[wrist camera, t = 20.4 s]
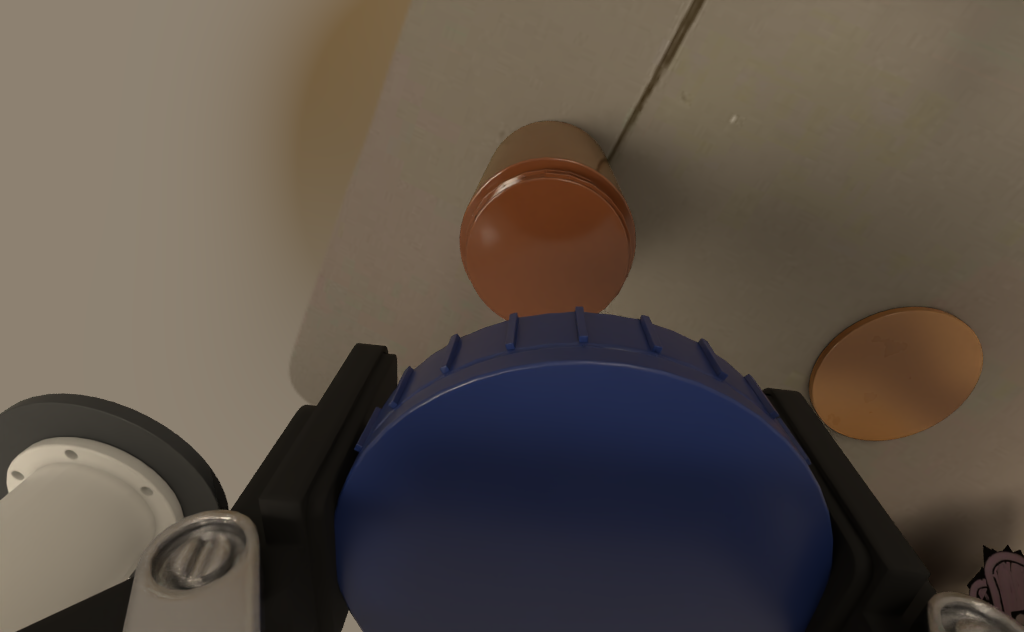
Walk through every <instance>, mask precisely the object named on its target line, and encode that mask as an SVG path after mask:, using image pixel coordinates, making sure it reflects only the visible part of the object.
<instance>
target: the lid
mask: <svg viewBox="0 0 1024 632" xmlns="http://www.w3.org/2000/svg"><path fill="white" fill-rule="evenodd" d="M777 417H779V414H778V412H777V411H776V410H775V408H774V407H773V405H772V404H771V403H770V401H769V400H768V398H767V397H766V395H765V394H764V393H763V391H762V390H761V388H760V387H759V386H758V384H757V383H756V381H755V380H754V378H753V377H752V376H751V375H750V374H748V375H746V376H745V377H743V376H742V375H741V374H740V373H739V372H738V371H737V370H735V369H734V368H733V367H732V366H731V365H730V364H729V363H728V362H727V361H725V360H724V359H722V358H721V357H719V356H718V355H716V354H715V353H714V351H713V349H712V348H711V346H710V345H709V343H708V342H707V341H706V340H704V339H702V338H701V339H700V341H699V342H696V341H693V340H691V339H689V338H687V337H685V336H683V335H681V334H679V333H677V332H674V331H672V330H669V329H666V328H663V327H660V326H657V325H654V324H652V322H651V320H650V318H649V316H645V315H641V318H640V319H633V318H626V317H621V316H616V315H610V314H597V313H589V312H584V309H583V307H575V311H574V312H565V313H547V314H541V315H535V316H526V317H518V314H517V313H513V314H510V316H509V320H507V321H505V322H502V323H499V324H495V325H492V326H489V327H485V328H483V329H480V330H478V331H476V332H474V333H471V334H469V335H466V336H463V337H461V338H460V337H459V335H458V334H455V335H453V336H451V339H450V341H449V344H448V345H447V346H446V347H444V348H443V349H441V350H439V351H438V352H436V353H434V354H433V355H431V356H430V357H429V358H428V359H426V360H425V361H424V362H423V363H421V364H420V365H419V366H418V367H416V368H415V369H414V370H413V369H412V368H411V367H410V366H409V367H408V368H407V369H406V370H405V371H404V373H403V375H402V377H401V379H400V382H399V384H398V386H397V388H396V389H395V390H394V391H393V392H392V394H391V395H390V397H389V398H388V400H387V401H386V403H385V404H384V406H383V407H382V409H381V408H379V407H376V408H375V410H374V412H373V414H372V416H371V418H370V420H369V421H368V423H367V425H366V427H365V429H364V431H363V433H362V435H361V437H360V439H359V441H358V443H357V444H356V446H355V448H354V450H356V451H358V452H359V454H358V456H357V458H356V460H355V462H354V464H353V466H352V468H351V470H350V472H349V474H348V476H347V478H346V480H345V483H344V485H343V487H342V489H341V491H340V494H339V497H338V501H337V505H336V509H335V514H334V528H335V549H336V568H337V581H338V585H339V588H340V591H341V593H342V596H343V598H344V600H345V602H346V604H347V607H348V609H349V611H350V613H351V614H352V616H353V617H354V619H355V620H356V621H357V623H358V625H359V626H360V628H361V630H362V631H363V632H805V630H806V628H807V626H808V624H809V622H810V620H811V619H812V616H813V614H814V612H815V610H816V608H817V606H818V604H819V602H820V599H821V597H822V595H823V593H824V591H825V588H826V586H827V583H828V581H829V577H830V573H831V568H832V557H833V535H832V528H831V521H830V515H829V510H828V508H827V505H826V502H825V499H824V496H823V493H822V491H821V488H820V485H819V484H818V482H817V480H816V478H815V477H814V475H813V473H812V471H811V470H810V468H809V466H808V465H810V464H811V462H810V459H809V458H808V456H807V455H806V453H805V452H804V450H803V449H802V448H801V446H800V445H799V443H798V442H797V440H796V439H795V438H794V436H793V435H792V433H791V432H790V431H789V429H788V428H787V426H786V425H785V423H784V422H783V421H782V419H781V418H777ZM776 418H777V419H776Z"/></svg>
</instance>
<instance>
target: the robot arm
mask: <svg viewBox="0 0 1024 632" xmlns="http://www.w3.org/2000/svg"><path fill="white" fill-rule="evenodd" d="M396 388H397V357H396V355H395V354H388V350H387V347H386V346H380V345H371V344H361V343H357V344H356V345H355V346H354V348H353V349H352V351H351V352H350V354H349V356H348V357H347V359H346V360H345V362H344V363H343V365H342V367H341V368H340V370H339V371H338V373H337V375H336V376H335V378H334V379H333V381H332V383H331V384H330V386H329V387H328V389H327V390H326V392H325V394H324V395H323V397H322V398H321V400H320V402H319V403H318V405H317V406H313V405H304V406H302V407H301V408H300V409H299V410H298V411H297V413H296V414H295V415H294V417H293V418H292V420H291V421H290V423H289V424H288V426H287V427H286V429H285V430H284V432H283V433H282V435H281V436H280V438H279V439H278V441H277V442H276V444H275V445H274V447H273V448H272V450H271V451H270V452H269V454H268V455H267V457H266V458H265V460H264V461H263V463H262V465H261V466H260V467H259V469H258V470H257V472H256V473H255V475H254V476H253V478H252V479H251V481H250V482H249V484H248V485H247V487H246V488H245V490H244V491H243V493H242V494H241V495H240V497H239V499H238V500H237V502H236V503H235V505H234V506H233V507H232V509H231V510H222V509H221V510H212V511H204V512H201V513H197V514H194V515H191V516H188V517H185V518H184V516H183V512H182V508H181V505H180V503H179V501H178V499H177V497H176V495H175V493H174V492H173V491H172V489H171V488H170V487H169V485H168V484H167V483H166V481H165V480H164V479H162V478H161V477H160V476H159V475H158V474H157V473H156V472H155V471H154V470H153V469H152V468H150V467H149V466H147V465H146V464H145V463H143V462H142V461H141V460H139V459H137V458H136V457H134V456H132V455H130V454H129V453H127V452H125V451H123V450H120V449H118V448H116V447H113V446H111V445H108V444H105V443H102V442H98V441H95V440H91V439H84V438H78V437H55V438H49V439H44V440H41V441H39V442H36V443H34V444H32V445H31V446H30V447H28V448H27V449H25V450H24V451H23V452H21V453H20V454H19V455H18V456H17V457H16V458H15V459H14V460H13V461H12V462H11V464H10V466H9V468H8V471H7V482H6V483H7V488H8V492H9V493H8V494H7V495H6V496H5V497H4V498H2V499H1V500H0V632H341V630H342V628H343V625H344V622H345V619H346V616H347V614H348V611H349V609H348V607H347V604H346V602H345V600H344V598H343V596H342V593H341V591H340V588H339V585H338V581H337V568H336V549H335V528H334V514H335V509H336V505H337V501H338V497H339V494H340V491H341V489H342V487H343V485H344V483H345V480H346V478H347V476H348V474H349V472H350V470H351V468H352V466H353V464H354V462H355V460H356V458H357V456H358V454H359V452H358V451H356V450H354V448H355V446H356V444H357V443H358V441H359V439H360V437H361V435H362V433H363V431H364V429H365V427H366V425H367V423H368V421H369V420H370V418H371V416H372V414H373V412H374V410H375V408H376V407H379V408H381V409H382V407H383V406H384V404H385V403H386V401H387V400H388V398H389V397H390V395H391V394H392V392H393V391H394V390H395V389H396ZM763 393H764V394H765V395H766V397H767V398H768V400H769V401H770V403H771V404H772V405H773V407H774V408H775V410H776V411H777V412H778V414H779V417H777V418H781V419H782V421H783V422H784V423H785V425H786V426H787V428H788V429H789V431H790V432H791V433H792V435H793V436H794V438H795V439H796V440H797V442H798V443H799V445H800V446H801V448H802V449H803V450H804V452H805V453H806V455H807V456H808V458H809V459H810V462H811V464H810V465H808V466H809V468H810V470H811V471H812V473H813V475H814V477H815V478H816V480H817V482H818V484H819V485H820V488H821V491H822V493H823V496H824V499H825V502H826V505H827V508H828V510H829V515H830V521H831V528H832V535H833V557H832V568H831V573H830V577H829V581H828V583H827V586H826V588H825V591H824V593H823V595H822V597H821V599H820V602H819V604H818V606H817V608H816V610H815V612H814V614H813V616H812V619H811V620H810V622H809V624H808V626H807V628H806V630H805V632H1024V626H1023V625H1022V624H1021V623H1020V622H1018V621H1017V620H1015V619H1014V618H1012V617H1011V616H1009V615H1008V614H1007V613H1005V612H1004V611H1002V610H1001V609H999V608H997V607H995V606H993V605H991V604H989V603H987V602H985V601H983V600H981V599H979V598H976V597H973V596H970V595H967V594H964V593H958V592H948V591H946V592H942V593H938V594H937V592H936V591H935V590H934V588H933V587H932V585H931V584H930V583H929V581H928V580H927V579H928V578H929V576H930V575H931V574H930V572H929V571H928V570H927V568H926V567H925V565H924V564H923V563H922V561H921V560H920V558H919V557H918V556H917V554H916V553H915V552H914V550H913V549H912V547H911V546H910V545H909V543H908V542H907V540H906V539H905V538H904V536H903V535H902V533H901V532H900V531H899V529H898V528H897V526H896V525H895V524H894V522H893V521H892V520H891V518H890V517H889V515H888V514H887V513H886V511H885V510H884V508H883V507H882V506H881V504H880V503H879V501H878V500H877V499H876V497H875V496H874V495H873V493H872V492H871V490H870V489H869V488H868V486H867V485H866V483H865V482H864V481H863V479H862V478H861V476H860V475H859V474H858V472H857V471H856V470H855V468H854V467H853V465H852V464H851V463H850V461H849V460H848V458H847V457H846V456H845V454H844V453H843V451H842V450H841V449H840V447H839V446H838V445H837V443H836V442H835V440H834V439H833V438H832V436H831V435H830V433H829V432H828V431H827V429H826V428H825V426H824V425H823V424H822V422H821V421H820V420H819V418H818V417H817V415H816V414H815V413H814V411H813V410H812V408H811V407H810V406H809V404H808V403H807V401H806V400H805V399H804V397H803V396H802V395H801V394H800V393H799V392H797V391H790V390H781V389H772V388H766V389H764V390H763ZM777 418H776V419H777ZM135 569H136V571H135V576H134V577H132V578H130V579H128V578H129V577H130V575H131V574H132V573H133V572H134V570H135ZM127 579H128V580H127Z"/></svg>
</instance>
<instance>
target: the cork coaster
mask: <svg viewBox="0 0 1024 632" xmlns="http://www.w3.org/2000/svg"><path fill="white" fill-rule="evenodd" d="M982 365H983V353H982V347H981V344H980V342H979V339H978V337H977V336H976V334H975V333H974V331H973V330H972V329H971V328H970V327H969V326H968V325H967V324H965V323H964V322H962V321H961V320H960V319H958V318H957V317H955V316H953V315H951V314H949V313H947V312H944V311H941V310H938V309H933V308H927V307H902V308H896V309H891V310H887V311H883V312H879V313H877V314H874V315H871V316H869V317H867V318H865V319H862V320H860V321H858V322H857V323H855V324H853V325H852V326H850V327H848V328H847V329H846V330H844V331H843V332H842V333H840V334H839V335H838V336H837V337H836V338H834V339H833V340H832V341H831V342H830V343H829V344H828V346H827V347H826V348H825V349H824V350H823V352H822V353H821V355H820V356H819V358H818V359H817V361H816V363H815V365H814V367H813V370H812V373H811V377H810V382H809V394H810V400H811V402H812V405H813V407H814V409H815V411H816V413H817V414H818V416H819V417H820V418H821V419H822V421H823V422H824V423H825V424H826V425H828V426H829V427H830V428H831V429H833V430H835V431H836V432H838V433H840V434H842V435H845V436H848V437H851V438H854V439H860V440H869V441H884V440H892V439H898V438H902V437H906V436H909V435H913V434H916V433H918V432H921V431H923V430H926V429H928V428H930V427H932V426H934V425H935V424H937V423H939V422H940V421H942V420H944V419H945V418H946V417H948V416H949V415H950V414H952V413H953V412H954V411H955V410H956V409H957V408H958V407H960V406H961V405H962V404H963V402H964V401H965V400H966V399H967V398H968V397H969V395H970V394H971V392H972V391H973V389H974V388H975V386H976V384H977V382H978V380H979V377H980V374H981V370H982Z"/></svg>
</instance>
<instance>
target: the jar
mask: <svg viewBox="0 0 1024 632" xmlns="http://www.w3.org/2000/svg"><path fill="white" fill-rule="evenodd" d="M635 248H636V232H635V225H634V221H633V217H632V214H631V211H630V209H629V207H628V205H627V202H626V200H625V198H624V196H623V194H622V191H621V189H620V187H619V185H618V182H617V180H616V178H615V176H614V174H613V171H612V169H611V167H610V165H609V163H608V160H607V158H606V156H605V154H604V152H603V150H602V149H601V147H600V146H599V145H598V143H597V142H596V141H595V140H594V139H593V138H592V137H591V136H590V135H589V134H588V133H586V132H585V131H583V130H582V129H580V128H578V127H576V126H574V125H571V124H568V123H565V122H559V121H540V122H535V123H531V124H528V125H526V126H523V127H521V128H520V129H518V130H516V131H514V132H513V133H512V134H510V135H509V136H508V137H507V138H506V139H505V140H504V141H503V142H502V143H501V144H500V145H499V147H498V148H497V149H496V151H495V153H494V155H493V156H492V158H491V160H490V162H489V164H488V166H487V168H486V170H485V172H484V174H483V176H482V178H481V180H480V182H479V184H478V186H477V188H476V190H475V192H474V194H473V197H472V199H471V201H470V203H469V205H468V207H467V209H466V212H465V214H464V217H463V221H462V224H461V231H460V252H461V258H462V262H463V265H464V269H465V271H466V273H467V275H468V278H469V279H470V281H471V283H472V284H473V287H474V289H475V290H476V292H477V294H478V295H479V297H480V298H481V299H482V300H483V302H484V303H485V304H486V305H487V306H488V307H489V308H490V309H491V310H492V311H493V312H495V313H496V314H497V315H499V316H500V317H502V318H504V319H505V320H509V316H510V314H513V313H517V314H518V317H526V316H535V315H541V314H547V313H565V312H574V311H575V307H583V309H584V312H589V313H597V314H598V313H599V312H601V311H602V310H604V309H605V308H606V307H607V306H608V305H609V303H610V302H611V301H612V300H613V299H614V298H615V297H616V296H617V295H618V294H619V292H620V290H621V288H622V286H623V284H624V282H625V280H626V278H627V277H628V273H629V271H630V269H631V266H632V263H633V259H634V255H635Z"/></svg>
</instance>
